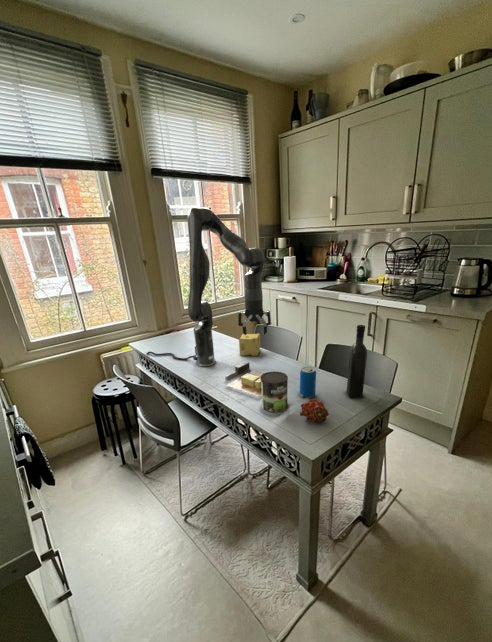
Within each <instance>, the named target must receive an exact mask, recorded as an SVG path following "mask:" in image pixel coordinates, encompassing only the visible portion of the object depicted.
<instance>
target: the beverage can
mask: <svg viewBox="0 0 492 642" xmlns="http://www.w3.org/2000/svg"><path fill="white" fill-rule="evenodd" d="M316 386H317V371H316V368H315V367H313V366H302V367H301V369H300V371H299V393H300V394H301V395H302V398H305V399H311V398H313V397H315V395H316Z"/></svg>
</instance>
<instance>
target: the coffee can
mask: <svg viewBox="0 0 492 642" xmlns="http://www.w3.org/2000/svg"><path fill="white" fill-rule="evenodd" d="M263 373H264V374H262V375H261V408H262V409H263V410H264V411H265V412H268V413H273V414H276V413H280V414H279V416H282V415H284V414H286V413H287V412H288V380H289V378H288V375H287V373H284V372H281V371H267V372H263Z"/></svg>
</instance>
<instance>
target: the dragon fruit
mask: <svg viewBox="0 0 492 642" xmlns="http://www.w3.org/2000/svg"><path fill="white" fill-rule="evenodd" d="M300 408H301V409H300V410H301V411H299V415H300V417H306V421H307V422H312V423H315V424H317V423H321V422H322V423H324V422H327V417H328V416H330V414H329V411H328V409H327V407H326V406H325V404H324V402H322V401H318V400H317V399H310V400H309V401H308V402H304V403H301V404H300Z"/></svg>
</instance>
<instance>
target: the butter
mask: <svg viewBox="0 0 492 642" xmlns="http://www.w3.org/2000/svg"><path fill="white" fill-rule="evenodd" d="M248 373H249V372H248ZM248 373H245V374H244V375H242V376H240V378H241V383H243V384H246V385H249V386H252V387H254V386H255V381H257V380H258V379H259V377H258V376H254V375H251V374H248Z"/></svg>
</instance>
